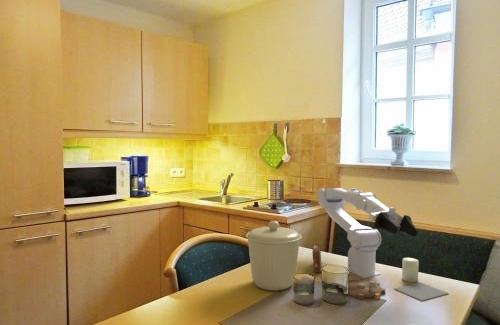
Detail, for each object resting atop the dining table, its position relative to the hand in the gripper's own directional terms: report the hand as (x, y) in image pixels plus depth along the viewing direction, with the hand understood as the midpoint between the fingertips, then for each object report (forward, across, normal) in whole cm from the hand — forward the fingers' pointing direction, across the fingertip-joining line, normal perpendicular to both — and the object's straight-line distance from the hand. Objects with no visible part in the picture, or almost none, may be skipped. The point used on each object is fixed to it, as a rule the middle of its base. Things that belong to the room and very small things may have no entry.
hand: (406, 232), depth 112 cm
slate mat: (+4, +10, +18) cm, 21 cm away
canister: (-13, -30, +31) cm, 45 cm away
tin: (-24, -8, +30) cm, 39 cm away
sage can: (-5, +15, +19) cm, 25 cm away
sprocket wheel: (-1, -6, +22) cm, 23 cm away
